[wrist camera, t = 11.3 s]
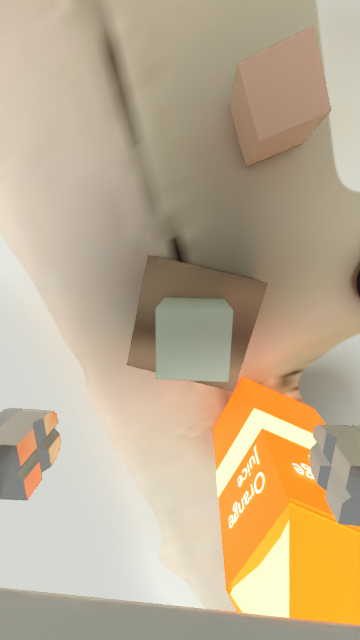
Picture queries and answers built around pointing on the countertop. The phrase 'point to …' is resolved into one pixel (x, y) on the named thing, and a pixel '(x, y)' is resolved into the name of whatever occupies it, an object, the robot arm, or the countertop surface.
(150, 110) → the countertop surface
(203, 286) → the walnut block
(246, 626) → the robot arm
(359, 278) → the beverage can
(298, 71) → the terracotta cube
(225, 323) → the sage cube
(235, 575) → the orange juice
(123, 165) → the countertop surface
